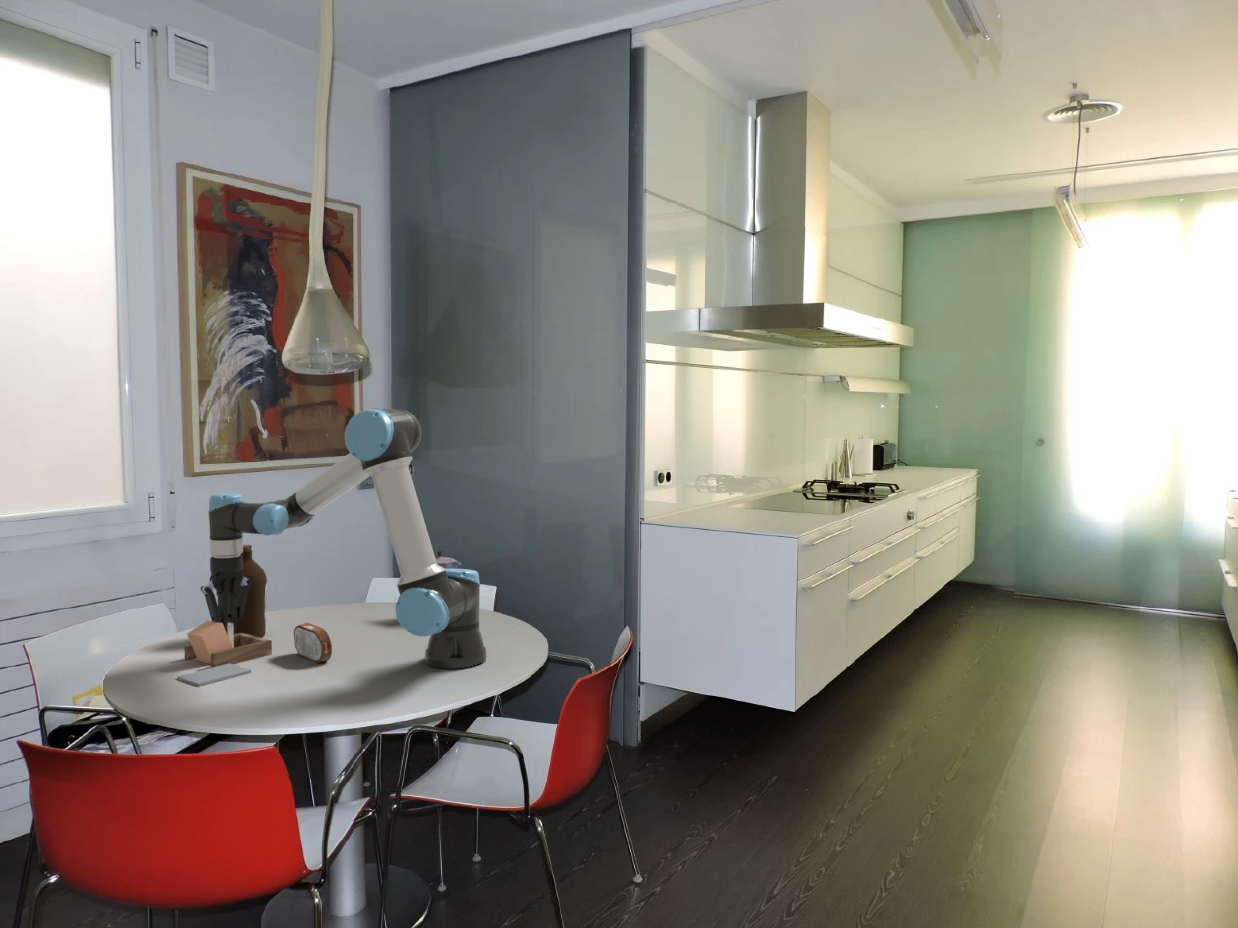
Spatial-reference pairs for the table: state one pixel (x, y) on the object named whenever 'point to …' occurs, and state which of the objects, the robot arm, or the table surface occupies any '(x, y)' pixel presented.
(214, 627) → the block
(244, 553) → the olive oil
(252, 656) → the bay
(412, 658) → the table surface
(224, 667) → the mat
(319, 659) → the tin
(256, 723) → the table surface
